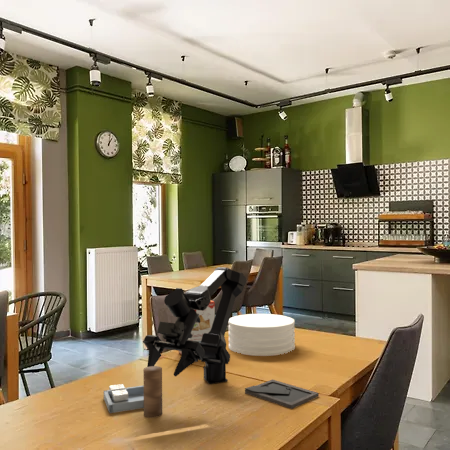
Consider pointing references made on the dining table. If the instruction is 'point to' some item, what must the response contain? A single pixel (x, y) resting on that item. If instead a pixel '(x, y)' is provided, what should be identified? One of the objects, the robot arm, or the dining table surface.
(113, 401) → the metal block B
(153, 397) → the walnut dowel
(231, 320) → the plate stack
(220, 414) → the dining table surface
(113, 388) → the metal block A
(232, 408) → the dining table surface
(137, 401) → the parts tray
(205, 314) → the cracker box
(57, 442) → the dining table surface
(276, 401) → the picture frame
